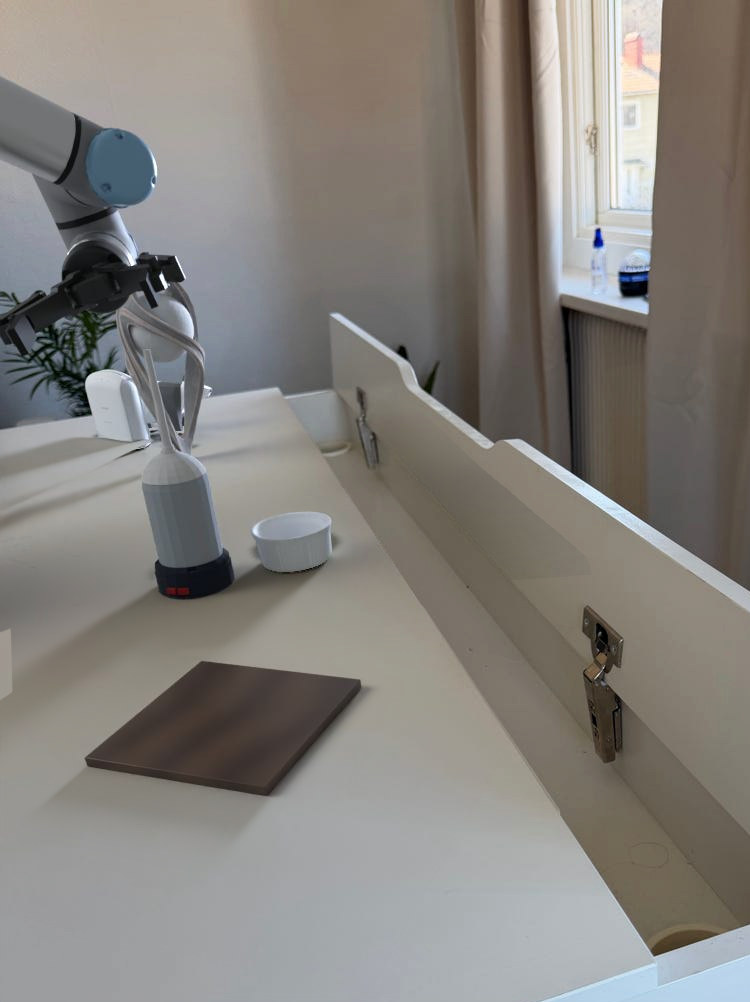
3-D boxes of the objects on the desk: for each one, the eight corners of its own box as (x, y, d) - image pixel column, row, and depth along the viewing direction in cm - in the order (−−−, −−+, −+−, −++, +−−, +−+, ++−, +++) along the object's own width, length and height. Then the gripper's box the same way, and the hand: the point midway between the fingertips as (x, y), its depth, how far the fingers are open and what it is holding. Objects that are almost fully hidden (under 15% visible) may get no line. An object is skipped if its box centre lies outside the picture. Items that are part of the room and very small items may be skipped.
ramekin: (255, 580, 106) (248, 543, 104) (259, 550, 114) (252, 515, 112) (337, 570, 107) (331, 533, 105) (335, 541, 115) (330, 507, 113)
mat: (86, 766, 76) (84, 757, 75) (203, 668, 89) (201, 660, 88) (266, 796, 70) (265, 786, 70) (361, 687, 84) (360, 679, 83)
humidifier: (164, 605, 102) (107, 361, 91) (154, 578, 109) (99, 349, 97) (241, 588, 105) (195, 349, 93) (227, 563, 112) (182, 338, 100)
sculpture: (231, 446, 156) (193, 246, 143) (216, 468, 146) (174, 254, 133) (159, 452, 156) (114, 252, 143) (139, 474, 146) (89, 261, 133)
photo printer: (96, 446, 163) (77, 371, 157) (117, 439, 166) (99, 365, 160) (134, 453, 157) (116, 375, 151) (156, 445, 160) (139, 369, 155)
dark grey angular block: (130, 438, 166) (116, 381, 161) (139, 430, 170) (126, 374, 166) (215, 432, 165) (204, 375, 161) (222, 424, 170) (212, 368, 166)
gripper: (213, 268, 117) (218, 311, 99) (14, 341, 115) (-16, 397, 98) (185, 204, 112) (185, 236, 95) (-22, 279, 111) (-60, 326, 94)
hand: (83, 318), depth 96 cm, fingers open, 13 cm apart
